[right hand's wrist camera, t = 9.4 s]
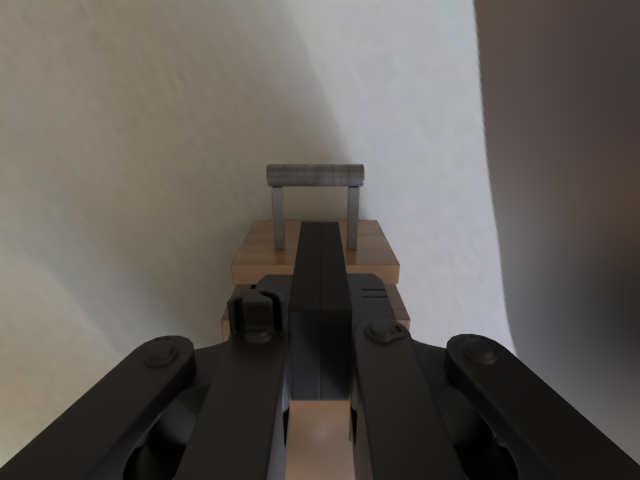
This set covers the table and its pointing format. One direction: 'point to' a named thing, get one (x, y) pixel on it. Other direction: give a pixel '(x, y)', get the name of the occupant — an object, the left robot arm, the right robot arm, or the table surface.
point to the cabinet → (321, 421)
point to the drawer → (283, 235)
